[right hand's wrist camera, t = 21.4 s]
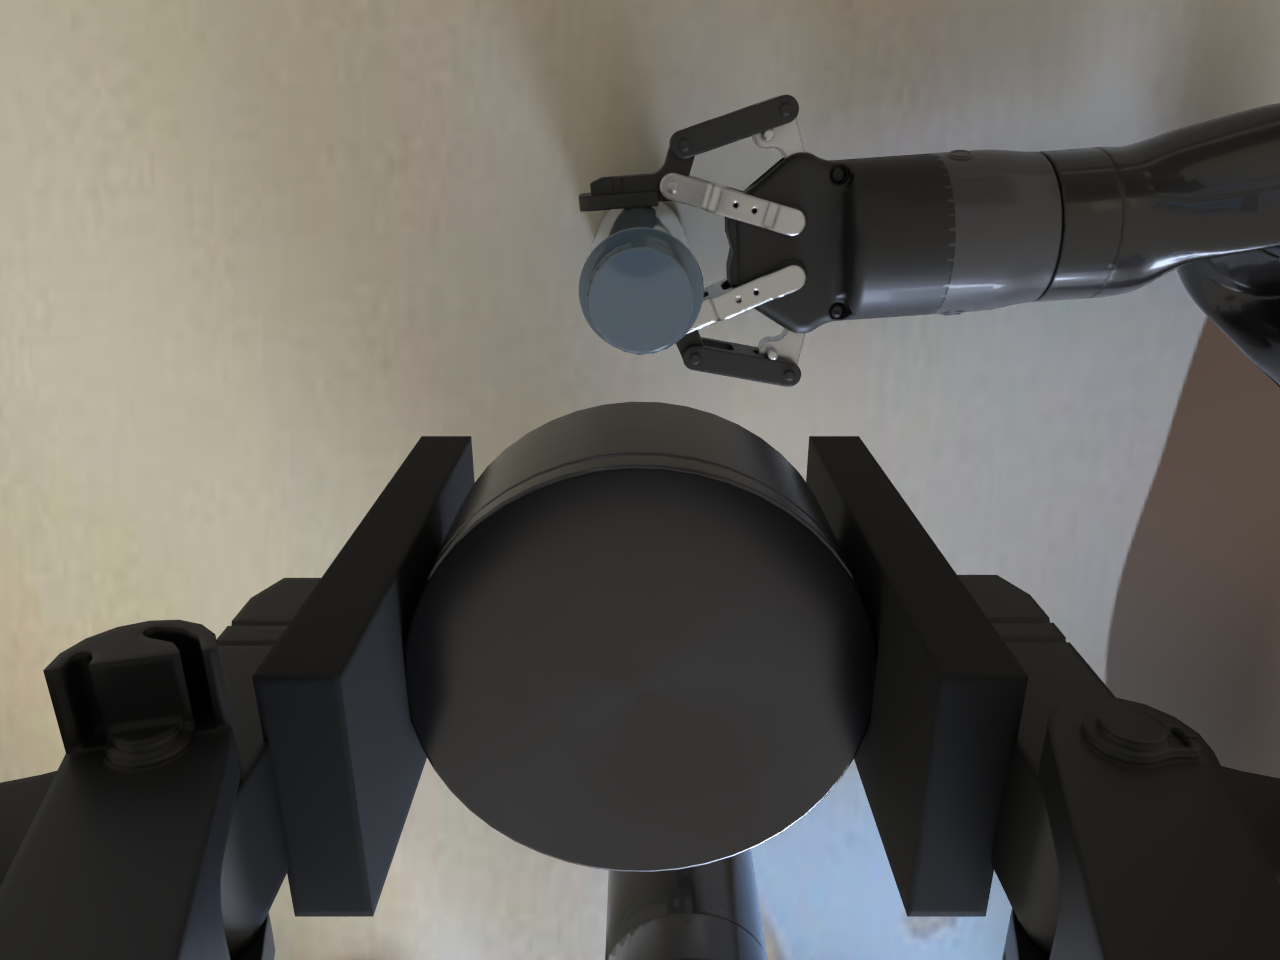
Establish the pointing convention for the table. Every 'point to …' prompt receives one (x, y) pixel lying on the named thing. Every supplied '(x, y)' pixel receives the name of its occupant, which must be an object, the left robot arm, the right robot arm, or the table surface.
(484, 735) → the lid
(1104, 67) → the table surface
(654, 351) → the blue-grey bottle
